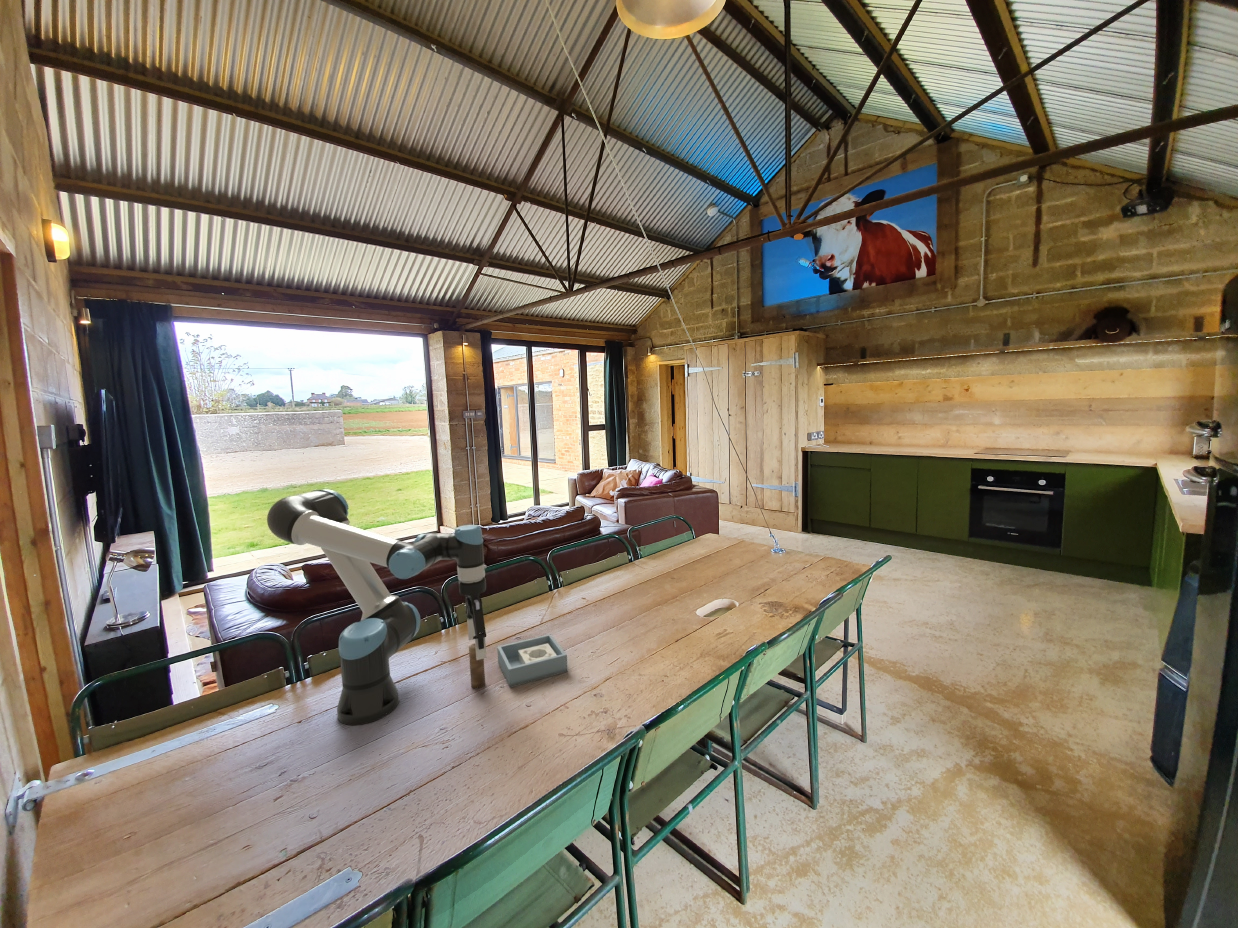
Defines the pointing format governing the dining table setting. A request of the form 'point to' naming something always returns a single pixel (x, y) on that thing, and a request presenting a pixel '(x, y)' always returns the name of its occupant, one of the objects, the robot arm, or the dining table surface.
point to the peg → (476, 669)
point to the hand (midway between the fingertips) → (477, 648)
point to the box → (532, 670)
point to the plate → (535, 653)
